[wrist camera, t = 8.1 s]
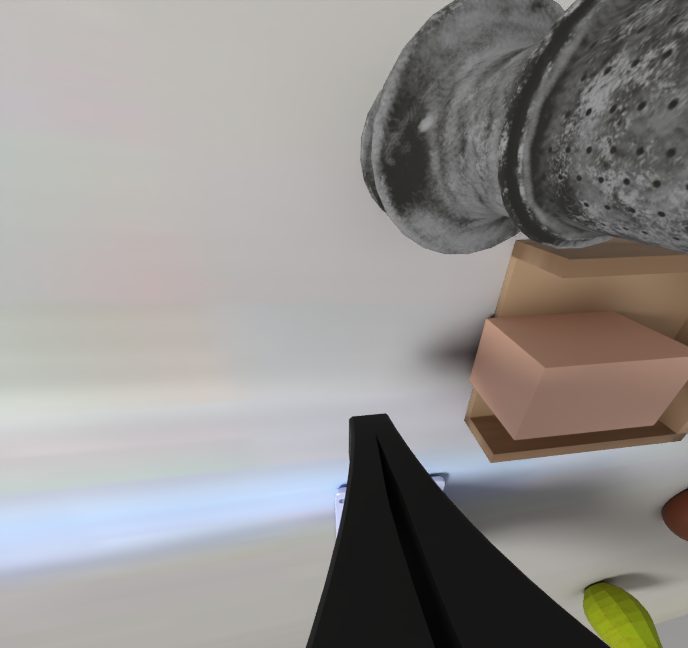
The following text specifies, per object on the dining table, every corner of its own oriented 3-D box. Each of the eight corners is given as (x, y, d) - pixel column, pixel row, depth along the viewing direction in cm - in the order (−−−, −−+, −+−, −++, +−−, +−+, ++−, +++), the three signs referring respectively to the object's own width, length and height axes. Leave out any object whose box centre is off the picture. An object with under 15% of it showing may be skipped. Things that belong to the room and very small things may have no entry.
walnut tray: (630, 404, 19) (680, 440, 17) (464, 420, 18) (490, 462, 16) (744, 232, 14) (844, 248, 11) (515, 240, 13) (570, 259, 10)
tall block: (469, 380, 16) (581, 371, 17) (514, 440, 13) (653, 425, 13) (486, 318, 14) (612, 310, 15) (545, 368, 11) (706, 355, 11)
